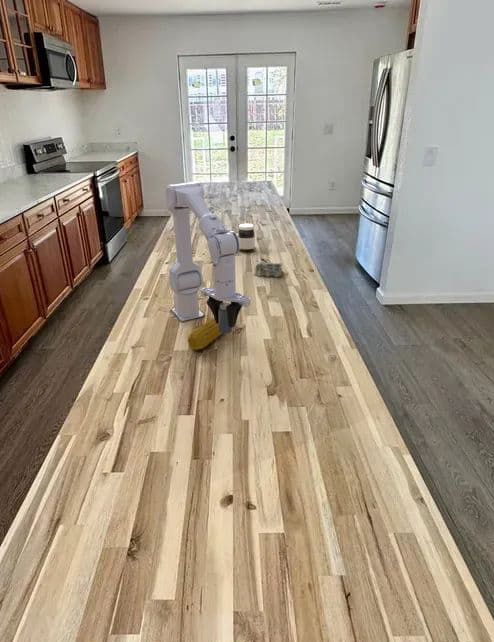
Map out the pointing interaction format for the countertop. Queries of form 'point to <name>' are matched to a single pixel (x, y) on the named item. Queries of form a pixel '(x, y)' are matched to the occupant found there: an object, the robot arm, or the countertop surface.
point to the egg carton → (268, 269)
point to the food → (204, 335)
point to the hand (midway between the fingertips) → (225, 324)
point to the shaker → (223, 318)
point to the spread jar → (246, 237)
